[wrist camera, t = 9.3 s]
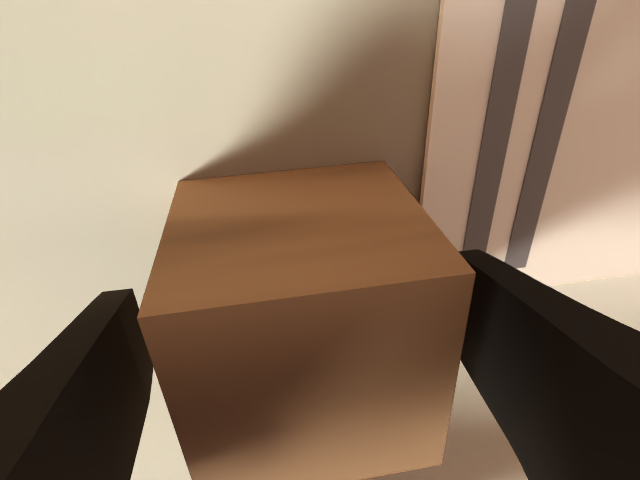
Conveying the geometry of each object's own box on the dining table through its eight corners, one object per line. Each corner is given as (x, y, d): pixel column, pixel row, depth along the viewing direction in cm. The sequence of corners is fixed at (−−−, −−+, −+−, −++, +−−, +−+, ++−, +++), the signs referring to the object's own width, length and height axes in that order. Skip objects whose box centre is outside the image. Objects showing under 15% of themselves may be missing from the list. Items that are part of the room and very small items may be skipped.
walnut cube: (377, 312, 13) (441, 464, 9) (214, 335, 13) (202, 509, 9) (382, 159, 11) (475, 272, 7) (179, 179, 10) (136, 317, 6)
